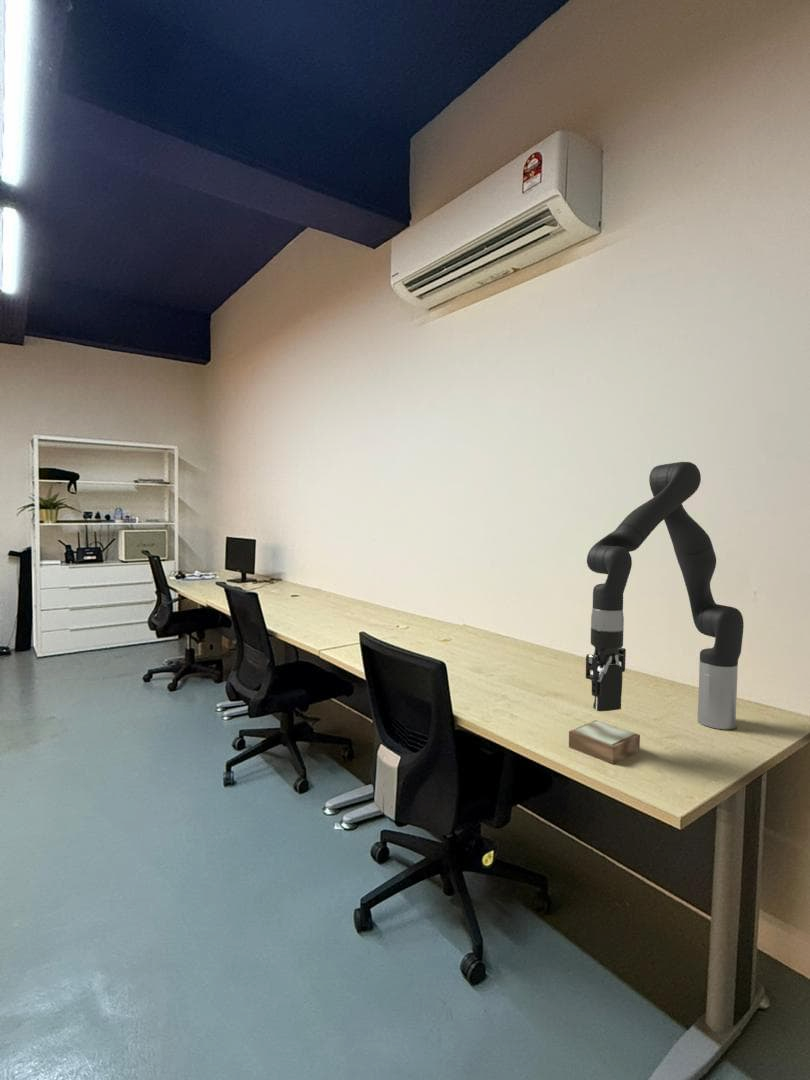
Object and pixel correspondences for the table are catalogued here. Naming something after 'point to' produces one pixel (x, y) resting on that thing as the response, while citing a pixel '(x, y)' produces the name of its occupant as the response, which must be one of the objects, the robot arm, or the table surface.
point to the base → (604, 741)
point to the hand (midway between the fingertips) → (605, 692)
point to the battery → (610, 689)
